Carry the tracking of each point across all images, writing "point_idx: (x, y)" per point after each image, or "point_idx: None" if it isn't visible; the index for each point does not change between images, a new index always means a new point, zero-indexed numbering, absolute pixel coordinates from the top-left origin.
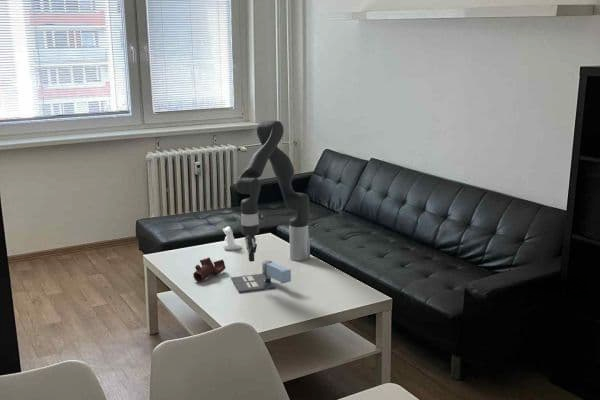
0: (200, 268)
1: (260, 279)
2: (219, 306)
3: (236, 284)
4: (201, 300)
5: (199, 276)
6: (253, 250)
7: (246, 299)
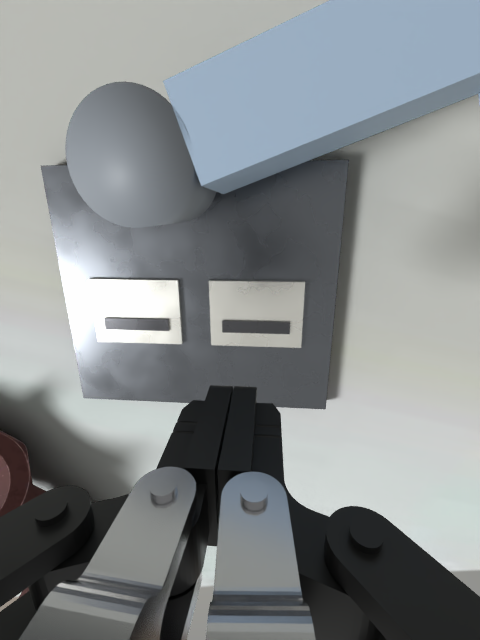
0: None
1: (165, 233)
2: (459, 521)
3: None
4: None
5: None
6: (378, 613)
7: (441, 388)
